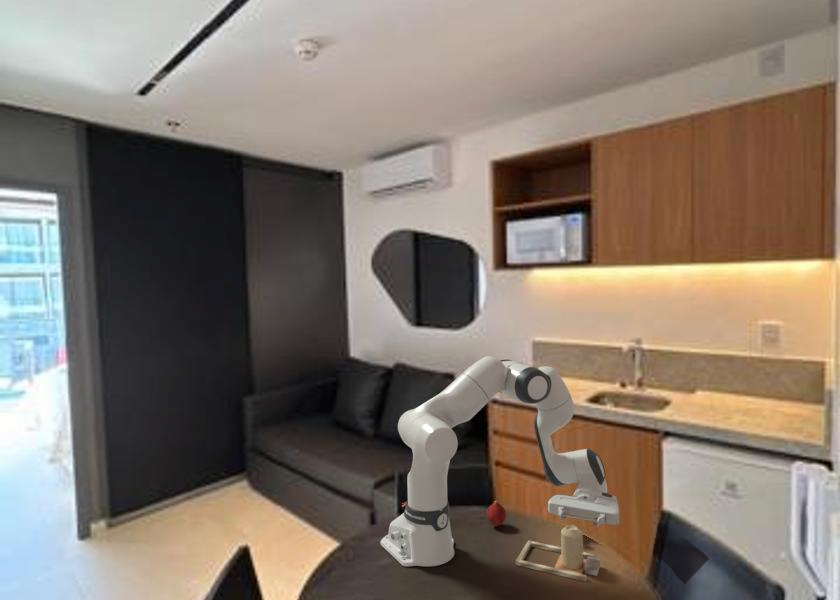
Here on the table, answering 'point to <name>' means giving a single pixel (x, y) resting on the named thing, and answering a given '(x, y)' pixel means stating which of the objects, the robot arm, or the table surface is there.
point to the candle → (572, 547)
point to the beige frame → (560, 563)
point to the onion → (496, 514)
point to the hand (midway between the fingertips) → (578, 520)
